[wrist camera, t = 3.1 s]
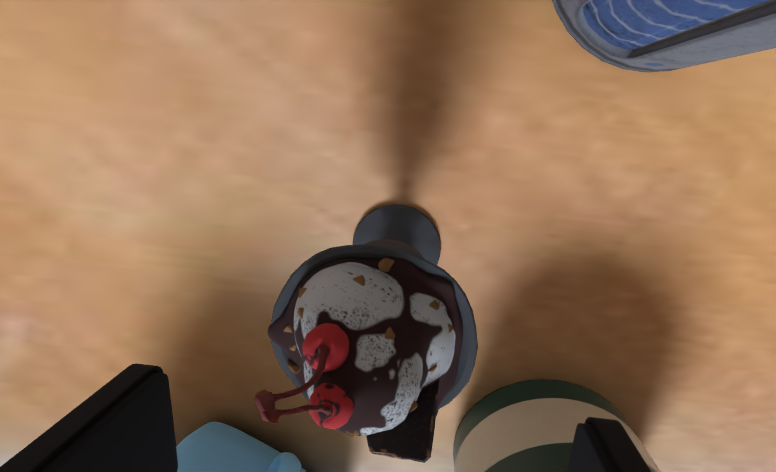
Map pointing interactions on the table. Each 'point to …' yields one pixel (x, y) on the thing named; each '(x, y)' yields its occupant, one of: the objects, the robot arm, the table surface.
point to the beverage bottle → (669, 30)
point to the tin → (530, 428)
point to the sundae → (375, 335)
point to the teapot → (230, 452)
